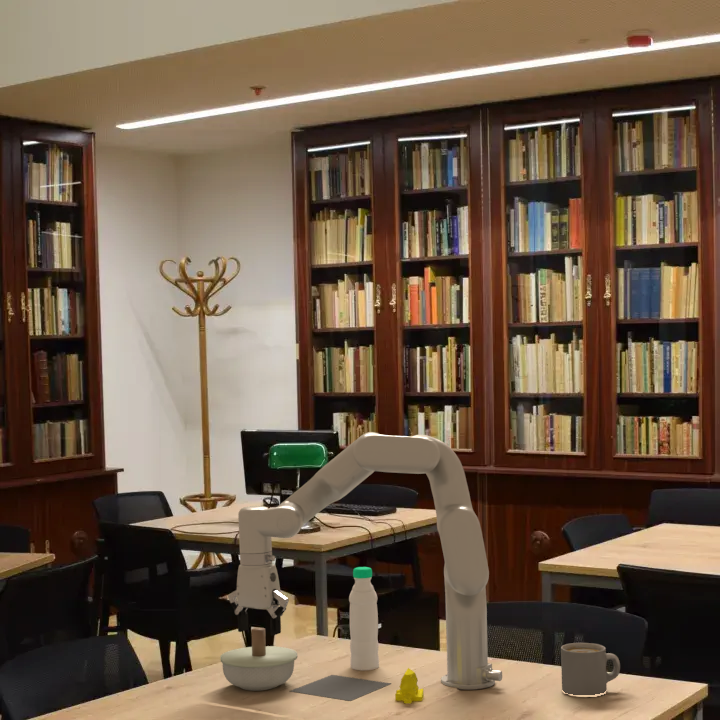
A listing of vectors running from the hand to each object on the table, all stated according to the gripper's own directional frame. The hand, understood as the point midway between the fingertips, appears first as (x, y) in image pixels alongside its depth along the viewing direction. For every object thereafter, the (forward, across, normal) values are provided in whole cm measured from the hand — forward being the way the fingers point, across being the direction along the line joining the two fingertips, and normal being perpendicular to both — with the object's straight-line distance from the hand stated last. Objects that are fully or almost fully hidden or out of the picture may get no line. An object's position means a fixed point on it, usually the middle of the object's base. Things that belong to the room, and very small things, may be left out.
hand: (259, 632), depth 277 cm
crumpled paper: (+14, -36, -7) cm, 40 cm away
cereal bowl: (+13, +1, 0) cm, 13 cm away
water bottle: (+14, -11, -27) cm, 32 cm away
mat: (+13, -17, -8) cm, 23 cm away
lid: (+6, 0, 0) cm, 6 cm away
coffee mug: (+15, -68, -34) cm, 78 cm away
